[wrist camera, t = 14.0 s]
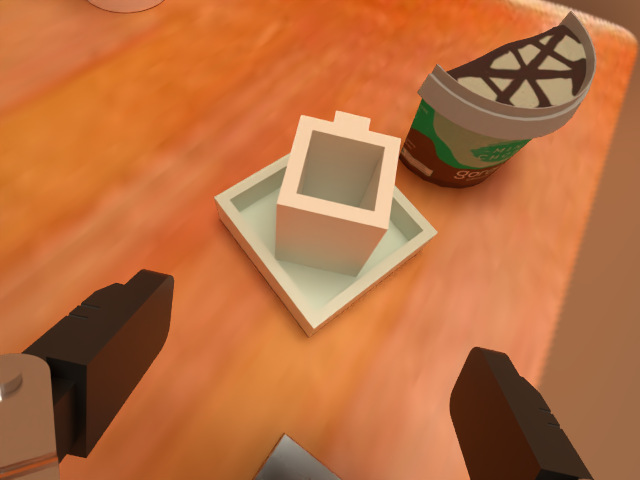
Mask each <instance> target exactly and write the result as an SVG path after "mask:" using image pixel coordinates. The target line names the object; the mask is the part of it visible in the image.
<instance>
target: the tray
mask: <svg viewBox="0 0 640 480" xmlns="http://www.w3.org/2000/svg"><path fill="white" fill-rule="evenodd" d="M289 157H290V153H289V154H288V155H286V156H284V157H282V158H281V159H279V160H277V161H275V162H274V163H272V164H270V165H269V166H267V167H265V168H263V169H262V170H260V171H258V172H257V173H255V174H253V175H251V176H250V177H248V178H246V179H245V180H243V181H241V182H239V183H238V184H236V185H234V186H233V187H231V188H229V189H227V190H226V191H224V192H222V193H221V194H219V195H217V196H215V197H214V199H215V203H216V206H217V210H218V214H219V217H220V220H221V221H222V222H223V224H224V225H225V226H226V228H227V229H228V230H229V232H230V233H231V234H232V236H233V237H234V238H235V240H236V241H237V242H238V244H239V245H240V246H241V248H242V249H243V250H244V252H245V253H246V254H247V256H248V257H249V258H250V260H251V261H252V262H253V264H254V265H255V266H256V268H257V269H258V270H259V272H260V273H261V274H262V276H263V277H264V278H265V280H266V281H267V282H268V284H269V285H270V286H271V288H272V289H273V290H274V292H275V293H276V294H277V296H278V297H279V298H280V300H281V301H282V302H283V304H284V305H285V306H286V308H287V309H288V310H289V312H290V313H291V314H292V316H293V317H294V318H295V320H296V321H297V322H298V324H299V325H300V326H301V328H302V329H303V330H304V332H305V333H306V334H307V336H308V337H310V336H312V335H313V334H314V333H315V332H317V331H318V330H319V329H321V328H322V327H323V326H324V325H326V324H327V323H328V322H330V321H331V320H332V319H333V318H335V317H336V316H337V315H339V314H340V313H341V312H342V311H344V310H345V309H346V308H348V307H349V306H350V305H351V304H353V303H354V302H355V301H357V300H358V299H359V298H360V297H362V296H363V295H364V294H366V293H367V292H368V291H369V290H371V289H372V288H373V287H374V286H376V285H377V284H378V283H380V282H381V281H382V280H383V279H385V278H386V277H387V276H389V275H390V274H391V273H392V272H394V271H395V270H396V269H398V268H399V267H400V266H401V265H403V264H404V263H405V262H407V261H408V260H409V259H410V258H412V257H413V256H414V255H416V254H417V253H418V252H419V251H421V250H422V249H423V248H424V247H425V246H426V245H427V244H428V243H429V242H430V241H431V240H432V238H433V237H434V236H435V235H436V234H437V233H438V232H437V231H436V230H435V229H434V228H433V227H432V225H431V224H430V223H429V222H428V221H427V220H426V219H425V218H424V217H423V216H422V215H421V213H420V212H419V211H418V210H417V209H416V208H415V207H414V206H413V205H412V204H411V203H410V201H409V200H408V199H407V198H406V197H405V196H404V195H403V194H402V193H401V192H400V190H399V189H398V188H397V187H396V186H395V185H394V191H393V198H392V205H391V212H390V219H389V225H388V230H387V232H386V233H385V235H384V236H383V238H382V239H381V241H380V242H379V244H378V245H377V247H376V248H375V250H374V251H373V253H372V254H371V256H370V257H369V259H368V260H367V262H366V263H365V265H364V266H363V268H362V269H361V271H360V272H359V274H358V275H357V277H353V276H349V275H344V274H340V273H335V272H331V271H327V270H322V269H318V268H314V267H309V266H305V265H300V264H296V263H292V262H287V261H283V260H278V259H275V244H276V208H277V200H278V197H279V193H280V190H281V186H282V182H283V179H284V175H285V172H286V168H287V164H288V161H289Z"/></svg>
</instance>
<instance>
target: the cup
mask: <svg viewBox="0 0 640 480" xmlns="http://www.w3.org/2000/svg"><path fill="white" fill-rule="evenodd" d="M87 1H89V2H90V3H91V4H93V5H95V6H97V7H99V8H101V9H104V10H108V11H113V12H122V13H128V12H138V11H142V10H146V9H149V8H152V7H154V6H156V5H158V4H159V3H161V2H162V1H163V0H87Z"/></svg>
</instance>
